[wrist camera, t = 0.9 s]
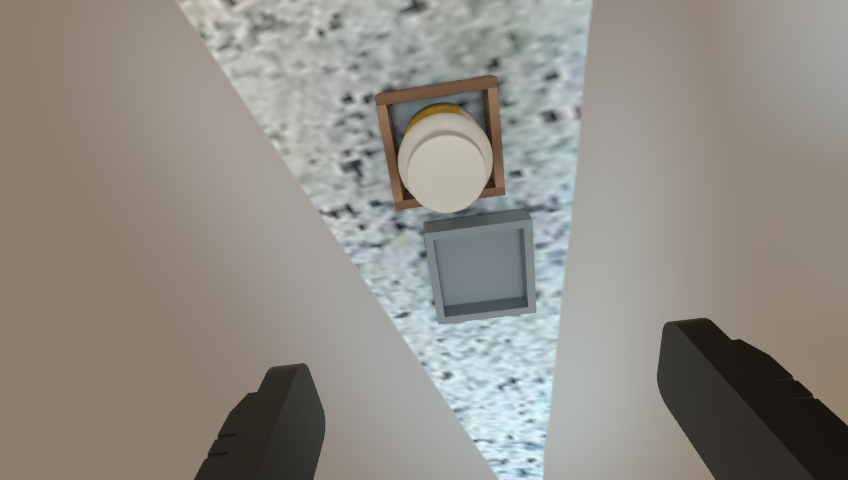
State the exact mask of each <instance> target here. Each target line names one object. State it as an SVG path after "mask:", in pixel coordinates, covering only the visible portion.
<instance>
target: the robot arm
mask: <svg viewBox="0 0 848 480" xmlns="http://www.w3.org/2000/svg"><path fill="white" fill-rule="evenodd" d="M657 381H658V387H659V390H660V393H661V396H662V398H663V401H664V402H665V404H666V406H667V407H668V409H669V410H670V412H671V413H672V415H673V416H674V418H675V419H676V421H677V422H678V424H679V425H680V427H681V428H682V430H683V431H684V433H685V434H686V436H687V437H688V439H689V440H690V442H691V443H692V445H693V446H694V448H695V449H696V451H697V452H698V454H699V455H700V457H701V458H702V460H703V461H704V463H705V464H706V466H707V467H708V469H709V470H710V472H711V473H712V475H713V476H714V478H715V479H716V480H848V426H847V425H846V424H845V423H844V422H843V421H842V420H841V419H840V418H839V417H837V416H836V415H835V414H834V413H833V412H832V411H831V410H830V409H829V408H828V407H826V406H825V405H824V404H823V403H822V402H821V401H820V400H819V399H814V398H813V394H812V393H811V392H810V391H808V389H806V388H805V387H804V386H803V385H802V384H801V383H800V382H799V381H795V380H794V379H793V376H792V375H791V374H790V373H789V372H788V371H787V370H785V369H784V368H783V367H782V366H781V365H780V364H779V363H778V362H777V361H775V360H774V359H773V358H772V357H771V356H770V355H768V354H766V353H764V352H763V351H761V350H759V349H757V348H755V347H753V346H752V345H750V344H748V343H746V342H744V341H742V340H740V339H738V340H731V339H730V338H729V337H728V336H727V335H726V334H725V333H724V332H723V331H722V330H721V329H719V327H718V326H716V325H715V324H714V323H713V322H712V321H711V320H709V319H707V318H698V319H690V320H681V321H672V322H667V323H666V324H665V325H664V327H663V332H662V340H661V348H660V356H659V364H658V372H657ZM324 435H325V414H324V410H323V407H322V404H321V401H320V398H319V396H318V393H317V390H316V387H315V384H314V382H313V379H312V376H311V374H310V371H309V368H308V367H307V365H306V364H304V363H301V364H293V365H284V366H276V367H271V368H270V369H269V370H268V371H267V373H266V375H265V378H264V379H263V381H262V383H261V385H260V387H259V390H258V392H254V393H248V394H247V395H246V396H245V397H244V398H243V399H242V400H241V402H239V404H238V405H237V406H236V407H235V408H234V409H233V410H232V411H231V412H230V413H229V415H228V417H227V419H226V421H225V423H224V424H223V426H222V428H221V430H220V432H219V434H218V439H217V440H215V441H214V443H213V445H212V447H211V448H210V450H209V452H208V458H207V459H205V460H204V462H203V464H202V465H201V467H200V469H199V471H198V473H197V475H196V477H195V479H194V480H313V479H314V475H315V471H316V467H317V463H318V459H319V456H320V452H321V448H322V444H323V440H324Z"/></svg>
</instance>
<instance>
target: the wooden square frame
mask: <svg viewBox="0 0 848 480" xmlns="http://www.w3.org/2000/svg"><path fill="white" fill-rule="evenodd" d="M482 89H483V95H484V106H485V118H486V130H487V138H488V140H489V142H490V145H491V148H492V153H493V166H492V171H491V175H490V176H491V178H489V180H488V182H487V184H486V185H485V187H484V188H483V190H482V192H481V194H480V196H479V197H478V198H486V197H493V196H500V195H505V184H504V170H503V156H502V143H501V129H500V115H499V101H498V87H497V77H496V76H492V75H489V76H483V77H477V78H470V79H464V80H458V81H452V82H445V83H439V84H433V85H427V86H420V87H414V88H408V89H402V90H395V91H389V92H383V93H379V94H377V95H376V96H375V100H376V106H377V111H378V116H379V122H380V127H381V132H382V137H383V143H384V148H385V153H386V159H387V164H388V169H389V174H390V180H391V185H392V190H393V196H394V201H395V206H396V210H400V209H407V208H414V207H421V206H423V205H421V204H420V203H419V202H418V201H417V200H416V199H415V197H414V196H413V195H412V194H411V193H410V192H409V191H408V190H405V187H404V183H403V182H402V179H401V177H400V174H399V168H398V154H399V153H398V147H397V141H396V136H395V130H394V124H393V119H392V113H391V107H390V104H394V103H400V102H407V101H413V100H419V99H426V98H432V97H438V96H445V95H451V94H457V93H464V92H470V91H476V90H482ZM478 198H477V199H478Z"/></svg>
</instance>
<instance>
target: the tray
mask: <svg viewBox="0 0 848 480" xmlns="http://www.w3.org/2000/svg"><path fill="white" fill-rule="evenodd" d="M424 239H425V245H426V251H427V258H428V264H429V270H430V276H431V282H432V288H433V294H434V300H435V306H436V312H437V318H438V324H445V323H454V322H462V321H471V320H479V319H487V318H496V317H504V316H512V315H521V314H529V313H536V296H535V274H534V252H533V230H532V218H531V217H530V215H529V214H528V212H527V211H526V209H520V210H512V211H505V212H498V213H491V214H483V215H476V216H469V217H461V218H454V219H447V220H440V221H432V222H425V223H424Z"/></svg>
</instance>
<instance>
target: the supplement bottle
mask: <svg viewBox="0 0 848 480" xmlns="http://www.w3.org/2000/svg"><path fill="white" fill-rule="evenodd" d="M492 166H493V153H492V148H491V145H490V142H489V140H488V138H487V136H486V134H485V132H484V131H483V130H482V128H481V127H480V126H479V124H478V123H477V121H476V120H475V118H474V117H473V116H472V115H471V114H470V113H469V112H468V111H467V110H465V109H464V108H462V107H460V106H458V105H455V104H452V103H436V104H432V105H429V106H427V107H425V108H423V109H421V110H420V111H419V112H418V113H416V114H415V116H414V117H413V118H412V119H411V121H410V122H409V124H408V127H407V129H406V131H405V134H404V137H403V140H402V143H401V145H400V149H399V154H398V168H399V174H400V177H401V179H402V182H403V183H404V185H405V187H406V188H407V190H408V191H409V192H410V193H411V194H412V195H413V196H414V197H415V199H416V200H417V201H418V202H419V203H420V204H421V205H423V206H424V207H426V208H427V209H430V210H432V211H435V212H440V213H452V212H457V211H460V210H463V209H465V208H466V207H468V206H470V205H471V204H472V203H473V202H474V201H475V200H476V199H477V198H478V197H479V196H480V194H481V192H482V190H483V188H484V187H485V185H486V184H487V182H488V180H489V178H490V175H491V171H492Z"/></svg>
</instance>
